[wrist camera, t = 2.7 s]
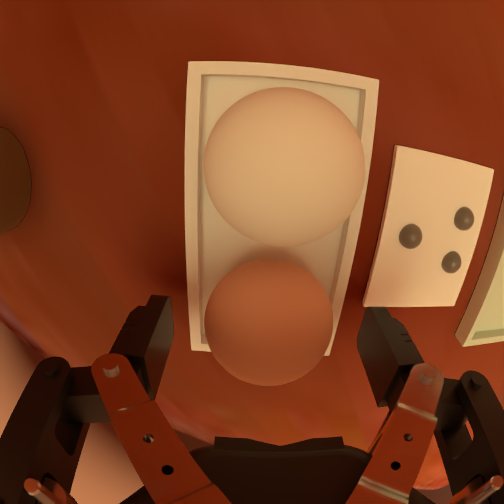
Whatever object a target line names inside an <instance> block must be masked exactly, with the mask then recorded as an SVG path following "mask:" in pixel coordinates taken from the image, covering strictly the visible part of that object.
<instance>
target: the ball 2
mask: <svg viewBox="0 0 504 504" xmlns="http://www.w3.org/2000/svg"><path fill="white" fill-rule="evenodd" d="M204 327H205V336H206V339H207V342H208V345H209V348H210V350H211V352H212V354H213V355H214V357H215V358H216V360H217V361H218V363H219V364H220V365H221V366H222V367H223V368H224V369H225V370H226V371H228V372H229V373H230V374H232V375H233V376H235V377H236V378H238V379H240V380H242V381H245V382H247V383H251V384H255V385H261V386H276V385H282V384H286V383H289V382H292V381H295V380H297V379H299V378H301V377H302V376H304V375H305V374H307V373H308V372H309V371H310V370H312V369H313V368H314V367H315V366H316V365H317V364H318V362H319V361H320V360H321V358H322V357H323V356H324V354H325V352H326V350H327V348H328V346H329V343H330V340H331V336H332V331H333V312H332V307H331V303H330V300H329V298H328V296H327V294H326V292H325V290H324V288H323V287H322V285H321V284H320V283H319V281H318V280H317V279H316V278H315V277H314V276H313V275H312V274H311V273H309V272H308V271H307V270H305V269H304V268H302V267H300V266H299V265H297V264H294V263H292V262H289V261H285V260H281V259H272V258H270V259H257V260H253V261H249V262H247V263H244V264H241V265H240V266H238V267H236V268H234V269H233V270H231V271H230V272H229V273H227V274H226V275H225V276H224V277H223V278H222V279H221V280H220V281H219V282H218V284H217V285H216V287H215V288H214V290H213V291H212V293H211V295H210V297H209V300H208V303H207V306H206V310H205V317H204Z"/></svg>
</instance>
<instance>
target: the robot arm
mask: <svg viewBox="0 0 504 504" xmlns="http://www.w3.org/2000/svg"><path fill="white" fill-rule="evenodd" d="M173 334H174V325H173V315H172V305H171V298H170V296H159V295H151V297H150V299H149V301H148V303H147V305H146V306H138V307H137V308H135V309H134V310H133V311H132V312H130V314H129V316H128V317H127V319H126V323H124V325H123V327H122V330H121V331H120V333H119V335H118V337H117V339H116V341H115V343H114V344H113V346H112V348H111V350H110V352H109V354H105V355H103V356H100V357H99V358H97V359H96V360H95V361H94V363H93V364H92V366H89V367H75V368H70V365H69V363H68V362H67V361H66V360H65V359H64V358H61V357H50V358H47V359H44V360H43V361H41V362H40V363H39V364H38V366H37V367H36V369H35V371H34V372H33V374H32V376H31V378H30V380H29V381H28V383H27V385H26V387H25V389H24V391H23V393H22V395H21V397H20V398H19V400H18V402H17V405H16V406H15V408H14V410H13V412H12V414H11V416H10V418H9V420H8V423H7V425H6V427H5V429H4V431H3V433H2V435H1V438H0V504H78V503H77V501H76V500H75V499H74V498H73V497H72V496H71V495H70V491H71V487H72V483H73V479H74V476H75V472H76V469H77V465H78V462H79V458H80V455H81V451H82V448H83V445H84V442H85V438H86V435H87V432H88V429H89V426H90V423H94V422H109V421H111V422H112V424H113V426H114V428H115V430H116V432H117V434H118V437H119V439H120V441H121V443H122V445H123V447H124V449H125V451H126V453H127V454H128V457H129V459H130V461H131V462H132V464H133V466H134V468H135V470H136V472H137V473H138V475H139V477H140V479H141V481H142V482H143V484H144V486H143V487H142V488H140V489H139V490H137V491H136V492H135V493H133V494H132V495H131V496H129V497H128V498H126V499H125V500H124V501H122V502H121V503H120V504H435V503H434V502H432V501H431V500H429V499H428V498H426V497H425V496H424V495H422V494H421V493H420V492H418V491H417V490H416V489H414V488H413V485H414V483H415V480H416V478H417V476H418V473H419V471H420V468H421V466H422V463H423V461H424V458H425V455H426V452H427V450H428V447H429V444H430V441H431V438H432V435H433V432H434V435H435V438H436V441H437V444H438V448H439V451H440V454H441V457H442V460H443V464H444V467H445V470H446V474H447V477H448V481H449V484H450V488H451V492H452V495H453V498H452V499H451V501H450V504H504V410H503V408H502V406H501V404H500V402H499V400H498V398H497V397H496V395H495V393H494V391H493V389H492V387H491V385H490V384H489V382H488V380H487V379H486V378H485V377H484V376H483V375H482V374H481V373H479V372H476V371H467V372H465V373H464V374H463V375H462V376H461V378H460V380H456V379H448V378H443V375H442V373H441V372H440V371H439V369H437V368H436V367H434V366H432V365H430V364H426V363H424V361H423V359H422V357H421V355H420V353H419V352H418V350H417V348H416V346H415V344H414V342H412V339H411V337H410V335H408V332H407V330H406V328H405V327H404V325H403V324H402V323H400V322H399V321H398V320H397V319H396V318H392V317H391V315H390V314H389V312H388V310H387V308H386V307H374V306H369V307H367V308H366V310H365V314H364V317H363V320H362V323H361V327H360V330H359V333H358V337H357V348H358V351H359V354H360V357H361V360H362V362H363V365H364V368H365V371H366V374H367V377H368V380H369V382H370V385H371V388H372V391H373V394H374V397H375V400H376V403H377V406H378V407H384V406H388V407H389V412H388V413H387V415H386V417H385V419H384V421H383V423H382V425H381V427H380V429H379V431H378V433H377V435H376V436H375V438H374V440H373V442H372V444H371V446H370V447H369V449H368V451H367V452H365V451H363V450H361V449H358V448H355V447H352V446H347V445H344V443H343V438H342V437H329V438H312V439H308V440H305V441H301V442H297V443H292V444H288V445H284V446H277V445H273V444H268V443H264V442H259V441H255V440H251V439H247V438H228V437H215V442H214V445H210V446H205V447H201V448H198V449H195V450H192V451H190V452H188V451H187V449H186V448H185V446H184V445H183V444H182V442H181V441H180V439H179V437H178V436H177V435H176V433H175V432H174V430H173V429H172V427H171V425H170V424H169V422H168V421H167V419H166V418H165V416H164V415H163V413H162V411H161V410H160V408H159V407H158V405H157V403H156V402H155V398H156V394H157V391H158V387H159V384H160V381H161V377H162V374H163V370H164V367H165V364H166V360H167V357H168V354H169V351H170V347H171V344H172V341H173ZM467 420H468V421H469V423H470V425H471V428H472V430H473V434H474V437H473V441H472V439H471V437H470V434H469V432H468V429H467V427H466V424H465V423H466V421H467Z"/></svg>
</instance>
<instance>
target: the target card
mask: <svg viewBox="0 0 504 504" xmlns="http://www.w3.org/2000/svg"><path fill="white" fill-rule="evenodd" d="M493 173H494V169H492V168H489V167H485V166H482V165H478V164H475V163H471V162H468V161H464V160H460V159H457V158H453V157H449V156H445V155H441V154H436V153H432V152H428V151H423V150H419V149H414V148H409V147H405V146H400V145H395V146H394V154H393V161H392V167H391V174H390V180H389V186H388V191H387V197H386V202H385V208H384V213H383V218H382V223H381V228H380V232H379V237H378V242H377V246H376V250H375V255H374V259H373V263H372V267H371V271H370V275H369V279H368V283H367V287H366V290H365V294H364V298H363V301H362V305H363V307H369V306H374V307H431V306H454V305H455V302H456V300H457V297H458V295H459V292H460V290H461V287H462V284H463V282H464V279H465V276H466V273H467V270H468V267H469V265H470V262H471V259H472V256H473V252H474V249H475V246H476V243H477V239H478V236H479V233H480V229H481V225H482V222H483V218H484V214H485V210H486V206H487V202H488V197H489V193H490V188H491V183H492V178H493Z"/></svg>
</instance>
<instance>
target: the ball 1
mask: <svg viewBox="0 0 504 504" xmlns="http://www.w3.org/2000/svg"><path fill="white" fill-rule="evenodd" d="M203 171H204V179H205V184H206V188H207V191H208V194H209V197H210V199H211V201H212V203H213V205H214V206H215V208H216V209H217V211H218V213H219V214H220V215H221V216H222V217H223V219H224V220H225V221H226V222H227V223H228V224H229V225H231V226H232V227H233V228H234V229H235V230H237V231H238V232H240V233H241V234H242V235H244V236H246V237H248V238H250V239H252V240H254V241H257V242H260V243H263V244H267V245H272V246H298V245H303V244H307V243H311V242H313V241H316V240H319V239H320V238H322V237H324V236H326V235H328V234H329V233H331V232H332V231H334V230H335V229H336V228H337V227H339V226H340V225H341V224H342V223H343V222H344V221H345V220H346V219H347V217H348V216H349V215H350V214H351V212H352V211H353V209H354V208H355V206H356V204H357V202H358V200H359V198H360V195H361V192H362V189H363V184H364V180H365V157H364V151H363V147H362V144H361V141H360V138H359V136H358V134H357V132H356V130H355V128H354V126H353V125H352V123H351V122H350V120H349V119H348V118H347V117H346V116H345V114H344V113H343V112H342V111H341V110H340V109H339V108H338V107H336V106H335V105H334V104H333V103H331V102H330V101H328V100H327V99H325V98H324V97H322V96H320V95H318V94H315V93H313V92H310V91H307V90H304V89H298V88H292V87H276V88H268V89H264V90H260V91H257V92H254V93H252V94H249V95H247V96H245V97H243V98H242V99H240V100H238V101H237V102H236V103H234V104H233V105H232V106H230V107H229V108H228V109H227V110H226V111H225V112H224V113H223V114H222V116H221V117H220V118H219V120H218V121H217V122H216V124H215V125H214V127H213V129H212V131H211V133H210V135H209V138H208V140H207V143H206V147H205V152H204V160H203Z"/></svg>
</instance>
